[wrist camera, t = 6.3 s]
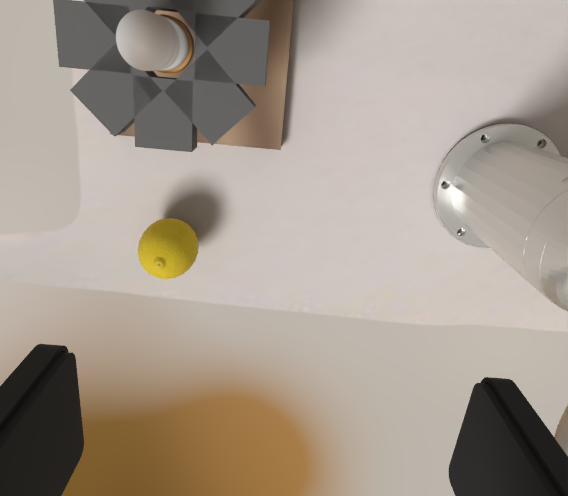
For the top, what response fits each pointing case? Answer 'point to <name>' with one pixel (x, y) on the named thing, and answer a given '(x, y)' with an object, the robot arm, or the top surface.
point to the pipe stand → (181, 55)
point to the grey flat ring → (164, 90)
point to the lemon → (168, 248)
